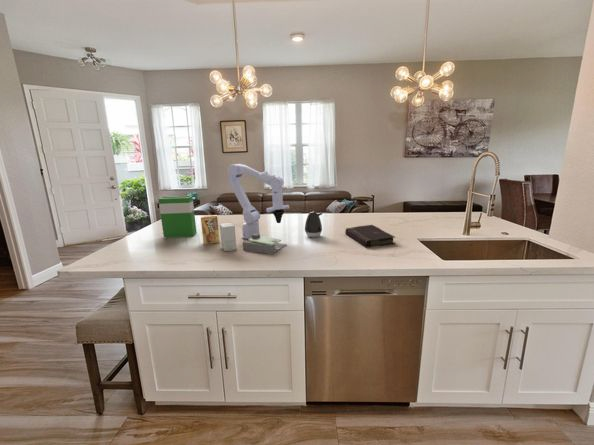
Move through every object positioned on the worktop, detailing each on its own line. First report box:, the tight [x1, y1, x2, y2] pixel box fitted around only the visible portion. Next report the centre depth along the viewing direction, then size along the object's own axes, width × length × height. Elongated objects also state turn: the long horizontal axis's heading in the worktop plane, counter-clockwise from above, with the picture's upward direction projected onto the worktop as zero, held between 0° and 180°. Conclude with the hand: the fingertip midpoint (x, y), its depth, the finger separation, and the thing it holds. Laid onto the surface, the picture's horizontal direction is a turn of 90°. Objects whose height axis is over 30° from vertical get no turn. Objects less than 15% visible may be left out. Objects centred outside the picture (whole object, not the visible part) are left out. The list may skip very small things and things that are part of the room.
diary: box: [344, 224, 396, 248], centre depth 164 cm, size 19×25×5 cm
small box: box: [219, 222, 237, 252], centre depth 154 cm, size 8×6×13 cm
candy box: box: [200, 214, 221, 245], centre depth 164 cm, size 9×4×15 cm, turn 110°
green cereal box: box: [157, 195, 198, 238], centre depth 178 cm, size 18×7×24 cm, turn 94°
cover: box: [247, 233, 282, 245], centre depth 152 cm, size 16×8×3 cm, turn 58°
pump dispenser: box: [304, 210, 323, 238], centre depth 171 cm, size 10×10×15 cm
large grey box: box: [242, 241, 287, 255], centre depth 155 cm, size 18×15×4 cm
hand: (278, 222), depth 166 cm, fingers closed
